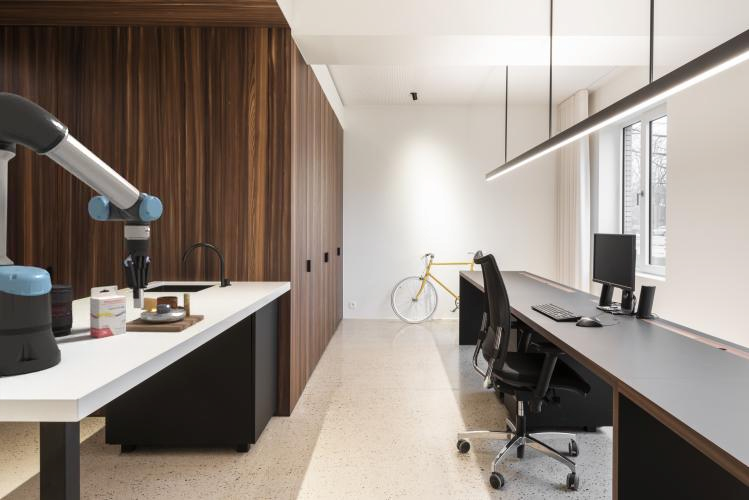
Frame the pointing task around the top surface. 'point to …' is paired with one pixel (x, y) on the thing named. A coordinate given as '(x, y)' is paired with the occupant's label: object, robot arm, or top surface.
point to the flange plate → (163, 316)
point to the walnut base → (167, 326)
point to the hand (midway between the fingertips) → (138, 307)
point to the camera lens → (61, 309)
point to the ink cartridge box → (107, 312)
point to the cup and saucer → (169, 301)
